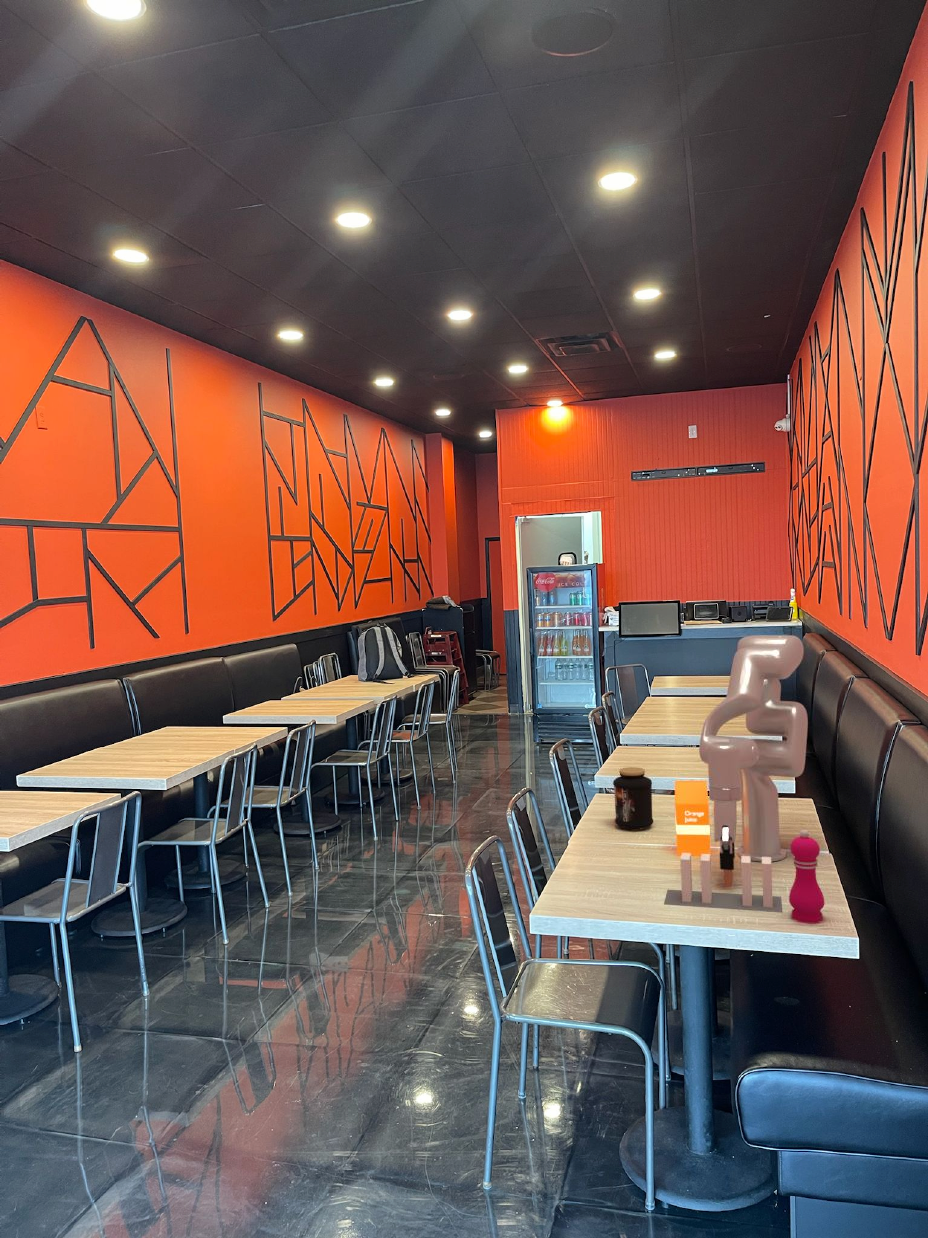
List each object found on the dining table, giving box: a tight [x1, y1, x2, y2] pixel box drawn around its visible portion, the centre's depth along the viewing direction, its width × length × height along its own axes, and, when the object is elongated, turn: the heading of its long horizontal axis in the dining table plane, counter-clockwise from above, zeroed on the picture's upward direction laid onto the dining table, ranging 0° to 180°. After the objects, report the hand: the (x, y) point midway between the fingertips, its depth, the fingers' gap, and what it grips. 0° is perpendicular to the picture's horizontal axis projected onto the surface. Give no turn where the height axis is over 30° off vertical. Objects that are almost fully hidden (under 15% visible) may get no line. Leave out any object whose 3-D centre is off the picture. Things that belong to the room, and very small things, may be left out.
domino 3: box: [722, 844, 734, 888], centre depth 214 cm, size 2×5×10 cm, turn 162°
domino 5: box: [761, 857, 773, 908], centre depth 200 cm, size 2×5×10 cm, turn 162°
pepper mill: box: [788, 829, 825, 924], centre depth 191 cm, size 7×7×20 cm
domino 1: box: [680, 853, 693, 902], centre depth 206 cm, size 2×5×10 cm, turn 162°
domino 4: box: [740, 856, 753, 906], centre depth 201 cm, size 2×5×10 cm, turn 162°
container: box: [612, 766, 654, 831], centre depth 269 cm, size 12×12×18 cm
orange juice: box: [674, 780, 711, 857], centre depth 242 cm, size 8×9×20 cm
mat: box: [663, 889, 784, 913], centre depth 203 cm, size 10×26×1 cm, turn 72°
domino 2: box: [700, 853, 713, 903], centre depth 204 cm, size 2×5×10 cm, turn 162°
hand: (727, 863), depth 214 cm, fingers open, 8 cm apart
